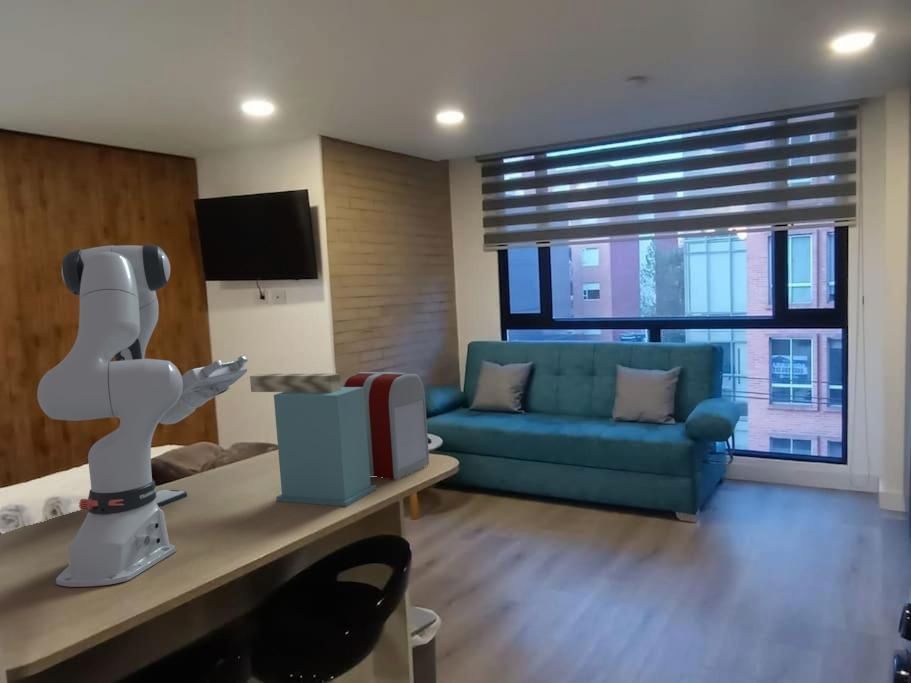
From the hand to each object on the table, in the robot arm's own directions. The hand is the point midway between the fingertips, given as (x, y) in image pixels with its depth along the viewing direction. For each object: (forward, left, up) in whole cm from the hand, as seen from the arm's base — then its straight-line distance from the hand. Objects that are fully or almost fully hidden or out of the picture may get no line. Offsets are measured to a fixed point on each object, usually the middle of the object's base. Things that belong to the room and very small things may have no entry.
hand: (232, 360), depth 182 cm
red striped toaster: (+13, -36, -34) cm, 51 cm away
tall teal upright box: (-9, -24, -34) cm, 43 cm away
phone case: (-10, +20, -35) cm, 41 cm away
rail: (-6, -18, -8) cm, 20 cm away
